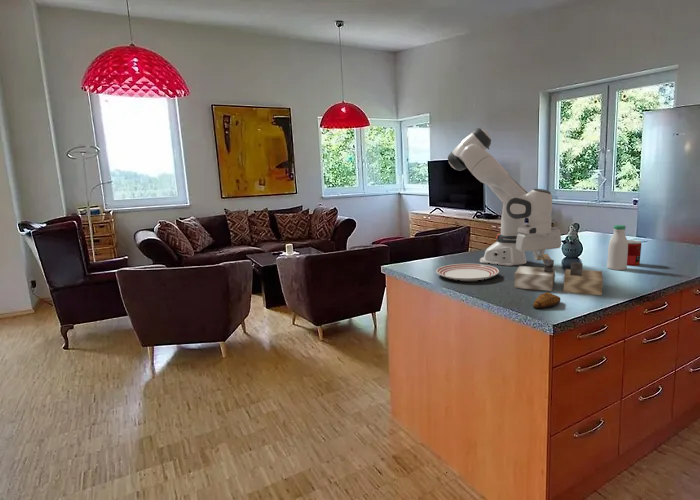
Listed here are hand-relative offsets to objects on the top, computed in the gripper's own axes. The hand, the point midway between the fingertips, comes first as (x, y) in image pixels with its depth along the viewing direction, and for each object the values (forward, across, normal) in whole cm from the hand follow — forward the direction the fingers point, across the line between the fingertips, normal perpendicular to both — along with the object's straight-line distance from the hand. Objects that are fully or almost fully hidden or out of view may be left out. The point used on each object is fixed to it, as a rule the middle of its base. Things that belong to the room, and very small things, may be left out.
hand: (538, 260), depth 193 cm
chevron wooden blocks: (+8, 0, +13) cm, 16 cm away
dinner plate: (+9, +24, -17) cm, 31 cm away
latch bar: (0, 0, +5) cm, 5 cm away
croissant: (+9, +20, +31) cm, 38 cm away
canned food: (+8, -57, -6) cm, 58 cm away
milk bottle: (+8, -45, -2) cm, 45 cm away
